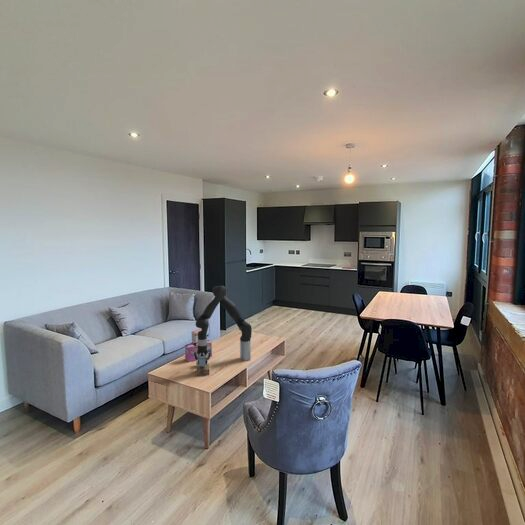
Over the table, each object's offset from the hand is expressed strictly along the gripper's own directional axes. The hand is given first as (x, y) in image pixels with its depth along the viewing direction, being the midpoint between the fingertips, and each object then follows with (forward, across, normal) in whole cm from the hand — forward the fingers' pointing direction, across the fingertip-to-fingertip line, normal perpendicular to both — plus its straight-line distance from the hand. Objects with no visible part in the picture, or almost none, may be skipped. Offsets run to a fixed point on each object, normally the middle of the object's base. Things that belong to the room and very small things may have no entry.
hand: (202, 364), depth 257 cm
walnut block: (+7, 0, 0) cm, 7 cm away
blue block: (+1, 0, 0) cm, 1 cm away
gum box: (+7, +9, -29) cm, 31 cm away
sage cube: (+7, +5, -12) cm, 15 cm away
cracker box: (+7, +11, -44) cm, 46 cm away
